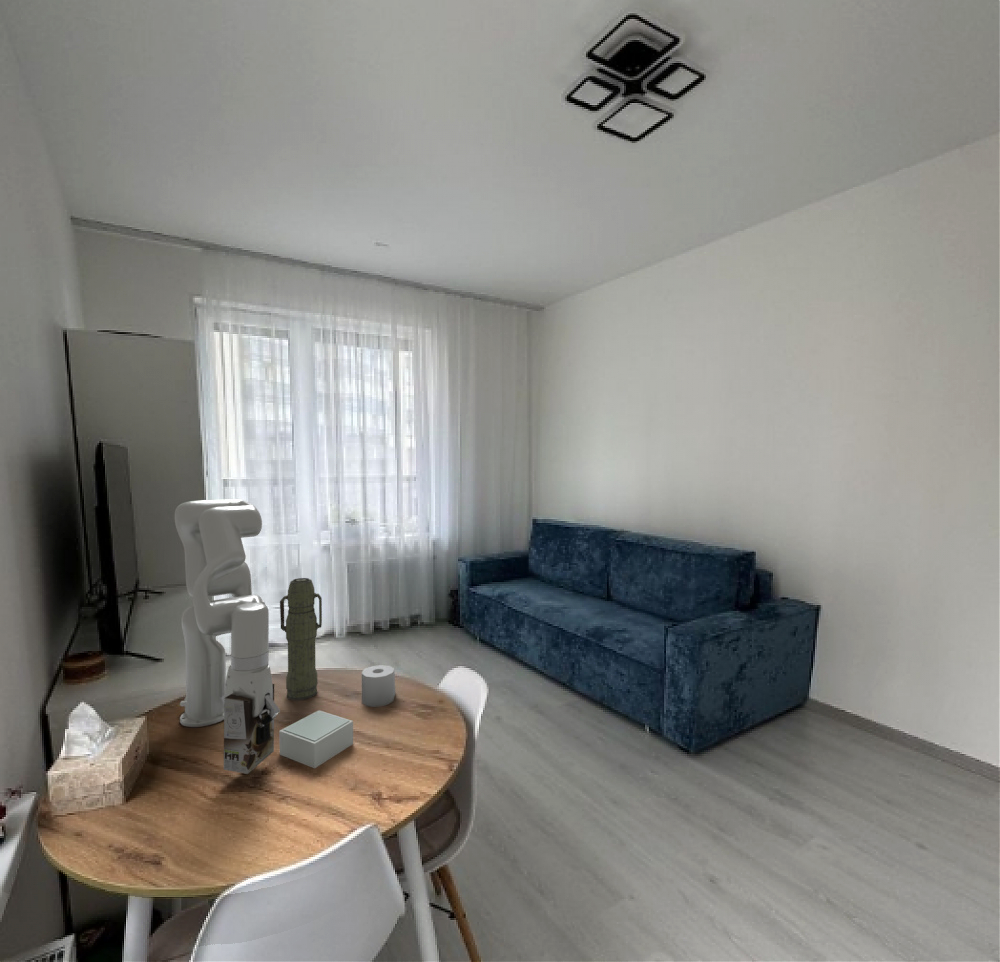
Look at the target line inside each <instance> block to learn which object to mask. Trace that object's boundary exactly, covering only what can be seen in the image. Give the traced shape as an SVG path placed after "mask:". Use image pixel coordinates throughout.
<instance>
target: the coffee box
mask: <svg viewBox="0 0 1000 962" xmlns="http://www.w3.org/2000/svg"><path fill="white" fill-rule="evenodd" d="M272 685H273V701H274V702H275V683H272ZM224 699H225V701H224V720H223V770H225V771H230V772H235V773H241V774H245V775H248V774H250V773H251V772H252V771H253V770H254V769H255V768H257V767H258V766H259V765H261V763H262V762H263V761H264V760H266V758H268V757H269V756H270V755H272V754H273V753H274V751H275V718H274V719H273V720H272V722H270V738H269V739H268V740H267V741H265V742H263V743H262V744H260V745H257V744H256V728H257V727H258V726H259V725H258V722H257V717H252V704H253V699H251V698H247V697H244V696H243V697H242V696H236V695H233V694H230V695H229V696H227V697H225V698H224ZM263 710H264V707H263ZM261 716H262V718H263V719H264V718H265V715H264V713H263V714H261Z"/></svg>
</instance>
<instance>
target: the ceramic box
mask: <svg viewBox="0 0 1000 962" xmlns="http://www.w3.org/2000/svg"><path fill="white" fill-rule="evenodd" d="M278 732H279V733H278V734H279V735H278V736H279V740H278V741H279V742H278V743H279V755H280V756H282V757H286V758H287V759H290V760H293V761H295V762H297V763H300V764H303V765H305V766H308V767H310V768H313V769H316V768H317V767H319V766H321V765H322V764H325V763H326V762H327V761H328V760H331V758H333V757H336V756H337V755H338V754H340V753H342V752H343V751H344V750H346V749H347V748H349V747H351V746H353V745H354V720H350V719H347V718H345V717H341V716H338V715H335V714H332V713H329V712H325V711H323V710H317V711H314V712H313V713H310V714H309V715H307V716H305V717H303V718H302V719H299V720H298V721H296V722H294V723H292V724H290V725H288V726H286V727H284V728H282V729H280V730H279V731H278Z"/></svg>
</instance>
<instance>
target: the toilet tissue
mask: <svg viewBox="0 0 1000 962" xmlns="http://www.w3.org/2000/svg"><path fill="white" fill-rule="evenodd" d="M395 675H396V674H395V668H394V667H392V666H391V665H385V664H384V665H383V664H379V665H371V666H369V667H366V668H364V669H363V670H362V671H361V703H362V704H363V705H364V706H365V707H374V708H377V707H384V706H387V705H389V704H391V703H392V702H393V703H394V700H395V696H396V680H395V679H396V678H395Z"/></svg>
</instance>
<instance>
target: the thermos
mask: <svg viewBox="0 0 1000 962" xmlns="http://www.w3.org/2000/svg"><path fill="white" fill-rule="evenodd" d="M287 588H288V589H287V595H284V596H283V597H282V598H281V599H280V601H279V614H280V629H281V630H282V631H283V632H284V633H285V639H286V641H287V673H286V678H285V681H286V682H285V683H286V685H285V686H286V687H285V689H286V698H287V699H288V700H291V701H302V700H307V698H308V699H310V698H312V697H314V696H316V695H317V693H318V689H317V688H318V682H319V681H318V672H317V669H316V638H317V636H318V629H321V628H322V625H323V613H322V612H323V611H322V609H323V608H322V607H323V606H322V605H323V601H322V595H320V593H316V592H315V586H314V583H313V581H312V579H310V578H308V577H300V578H299V577H298V578H294V579H292V580H291V581H290V582H289V584H288V587H287ZM316 598H318V618H317V615H316V612H315V599H316ZM285 600H287V607H288V610H287V615H286V620H285ZM318 619H319V620H318ZM317 621H318V622H317Z"/></svg>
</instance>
